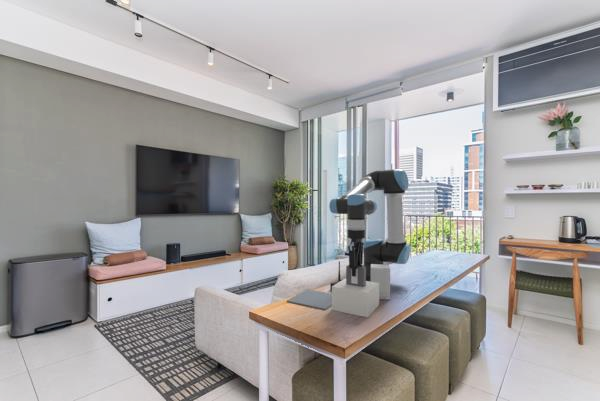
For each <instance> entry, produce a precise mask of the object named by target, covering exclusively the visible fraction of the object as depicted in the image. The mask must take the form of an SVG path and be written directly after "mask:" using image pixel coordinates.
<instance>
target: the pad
mask: <svg viewBox="0 0 600 401" xmlns="http://www.w3.org/2000/svg"><path fill="white" fill-rule="evenodd" d="M286 303H291V304H295V305H299V306H303V307H304V306H305V307H309V308H313V309H319V310H323V311H326V310H328V309H330V308H332V292H331V293H330V292H327V291H326V292H325V291H320V290H314V289H309V288H307V289H305V290H304V291H302V292H300V293H298V294H297V295H294V296H292V297H291V298H289V299H286Z"/></svg>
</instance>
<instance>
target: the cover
mask: <svg viewBox="0 0 600 401" xmlns="http://www.w3.org/2000/svg"><path fill="white" fill-rule="evenodd" d="M345 269H346V270H345V272H346V274H345V279H344V278H343V279H341V280H342V281H340V282H338V283H337V284H335V285H333V286H332V290H331V293H332V306H331V310H332V311H337V312H340V313H341V312H342V313H346V314H351V315H355V316H359V317H360V316H361V317H363V318H369V317H370V315H372V313H374V312H375V311H376V309H377V308H378V307H379V306H380V299H379V283H376V282H371V281H370V280H366V267H362V266H357V269H358V284H353V283H351V268H349V264H348V265H346V268H345Z"/></svg>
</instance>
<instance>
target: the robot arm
mask: <svg viewBox="0 0 600 401" xmlns="http://www.w3.org/2000/svg"><path fill="white" fill-rule="evenodd" d="M409 185H410V184H409V176H408V174H407V173H406V171H405V170H404V169H397V168H394V169H381V170H380V169H379V170H378V169H377V170H374V171H372V172H370V173H368V174H365V175H364V176H362V177H361V179H360V180H359V181H358V183H356V184H355V185H354V186H353V187H352V188H350V189H349V190H348V191H347V192H345V193H344V194H343V195H342V196H341V197H339V198H337V197H336V198H332V199H331V200H330V201H329V203H328V204H329V211H330V212H331V213H332V214H337V215H347V221H346V223H347V228H348V229H347V238H348V239H350V244H349V245H348V246H347V248H348V265H349V268H351V283H353V284H358V269H357V266H362V267H366V281H369V282H371V264H381V265H384V263H389V264H396V265H406V264H407V263H408V261H409V258H410V255H411V245H410V244H408V243H407V239H405V236H404V212H403V210H404V208H403V206H404V205H403V196H404V195H405V194H406V190H407V191H408V189H409ZM374 191H383V195H384V196H385V197H386V220H387V223H386V224H387V237H386V238H385V240H384V239H383V238H382V239H381V238H377V239H376V238H375V239H373V238H372V239H368V240H364V242H362V240H363V239H365V238H366V230H365V229H366V215H367V216H368V215H369V216H370V215H372V214H374V213H375V212H376V210H377V209H378V205H377V202H376V200H374V199H372V198H366V195H367V194H369V193H372V192H374Z"/></svg>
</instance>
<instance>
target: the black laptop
mask: <svg viewBox="0 0 600 401" xmlns="http://www.w3.org/2000/svg"><path fill="white" fill-rule="evenodd" d="M337 276H338V278H337V281H335V282H334V281H333V282H331V283H330V287H329V288H330V291H332V286H333V285H335V284H337V283H338V282H340V281H342V280H343V279H345V278H346V277H345V278H343V279H341V262H340V261H338V275H337Z"/></svg>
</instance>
